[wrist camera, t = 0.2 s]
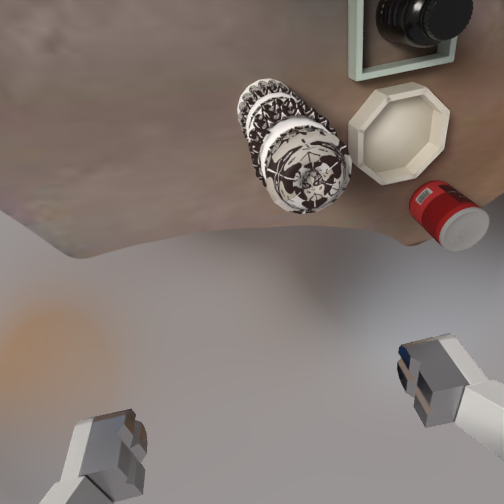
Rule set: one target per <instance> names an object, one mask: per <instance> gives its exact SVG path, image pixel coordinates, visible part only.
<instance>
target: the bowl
mask: <svg viewBox="0 0 504 504" xmlns="http://www.w3.org/2000/svg"><path fill="white" fill-rule="evenodd" d="M449 116H450V111H449V110H448V109H447V108H446V107H445V106H444V105H443V104H442V103H441V102H440V101H439V100H438V99H437V98H436V97H435V96H434V94H433V93H432V92H431V91H430V90H429V89H428V88H427V87H424V86H422V85H419V84H417V83H414V82H410V83H405V84H400V85H395V86H390V87H386V88H381V89H376V90H374V92H373V93H372V94H371V95H370V96H369V98H368V99H367V100H366V101H365V103H364V104H363V105H362V106H361V108H360V109H359V110H358V111H357V113H356V114H355V115H354V116H353V118H352V119H351V120H350V121H349V122H348V152H349V154H350V157H351V160H352V162H353V163H354V164H355V165H356V166H357V167H358V168H359V169H361V170H362V171H363V172H365V173H366V174H367V175H369V176H370V177H371V178H373V179H374V180H375V181H377V182H378V183H379V184H381V185H386V184H391V183H395V182H400V181H405V180H410V179H414V178H417V177H418V176H419V175H420V174H421V173H422V171H423V170H424V169H425V168H426V167H427V166H428V165H429V164H430V163H431V162H432V161H433V160H434V159H435V158H436V157H437V156H438V155H439V154H440V153H441V152H442V151H443V150H444V147H445V141H446V134H447V128H448V122H449Z"/></svg>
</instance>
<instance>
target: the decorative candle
mask: <svg viewBox="0 0 504 504" xmlns="http://www.w3.org/2000/svg"><path fill="white" fill-rule="evenodd" d="M237 109H238V119H239V121H240V123H241V124H240V126H241V128H242V131H243V133H244V135H245V138H246V139H247V140H248V141H249V149H250V153H251V155H252V161H253V166H254V168H255V169H256V176H257V178H258V179H260V180H263V185H264V186H265V187H266V188H267V190H268V192H269V194H270V196H271V197H272V199H273V201H274V202H275V203H276V204H277V205H279V206H280V207H282V208H283V209H284V210H286V211H289V212H294V213H298V214H305V213H312V212H317V211H319V210H321V209H323V208H325V207H327V206H329V205H331V204H332V203H333V202H334V201H335V200H336V199H337V198H338V197H339V196H340V195H341V194H342V193H343V192H344V190H345V188H346V186H347V184H348V182H349V180H350V178H351V167H352V160H351V157H350V154H349V152H348V149H347V146H346V145H345V144H344V143H342V142H341V141H340V140H339V139H338V138H337V134H336V131H335V130H334V129H333V128H330V127H329V126H330V124H329V121H328V120H327V119H326V118H325V117H323V116H321V115H318V113H317V112H316V111H315V109H313V108H309V107H308V106H307V105H306V103H305V102H303V101H302V100H301V99H300V98H299V97H298V96H297V95H296V94H295V93H294V92H293V91H292V90H291V89H289V88H288V87H287V86H286V85H285V84H284V83H282V82H280V81H277V80H274V79H271V78H269V79H261V80H257V81H256V82H254V83H252V84H251V85H249V86H248V87H247V88H246V89H245V91H244V92H243V93H242V95H241V96H240V100H239V104H238V107H237Z"/></svg>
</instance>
